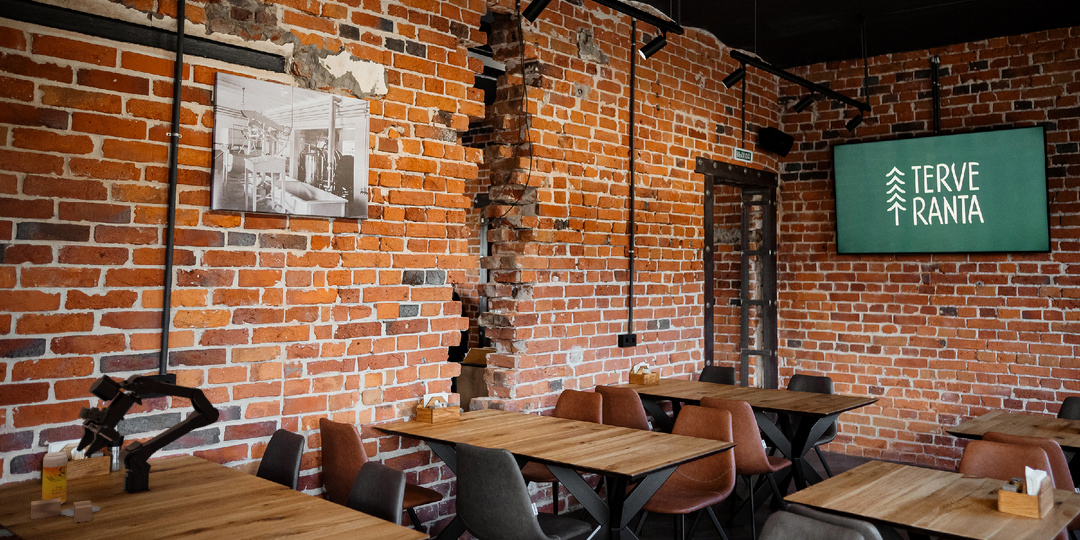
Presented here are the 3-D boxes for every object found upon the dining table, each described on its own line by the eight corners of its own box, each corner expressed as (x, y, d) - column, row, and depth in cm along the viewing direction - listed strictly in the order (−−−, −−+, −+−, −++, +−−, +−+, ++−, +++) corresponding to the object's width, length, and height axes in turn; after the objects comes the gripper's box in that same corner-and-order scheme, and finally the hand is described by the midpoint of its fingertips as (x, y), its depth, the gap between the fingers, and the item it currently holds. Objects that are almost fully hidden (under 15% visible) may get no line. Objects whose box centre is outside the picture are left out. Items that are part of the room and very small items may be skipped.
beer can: (54, 507, 225) (55, 456, 225) (36, 506, 226) (38, 455, 226) (70, 502, 231) (72, 452, 231) (53, 500, 232) (55, 450, 232)
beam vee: (64, 503, 228) (65, 490, 229) (122, 508, 225) (123, 494, 225) (22, 518, 214) (22, 504, 214) (83, 523, 210) (84, 509, 210)
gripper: (86, 392, 243) (50, 435, 236) (104, 399, 229) (66, 445, 222) (116, 411, 249) (82, 453, 242) (135, 419, 235) (99, 463, 228)
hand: (81, 453), depth 233 cm, fingers open, 9 cm apart
